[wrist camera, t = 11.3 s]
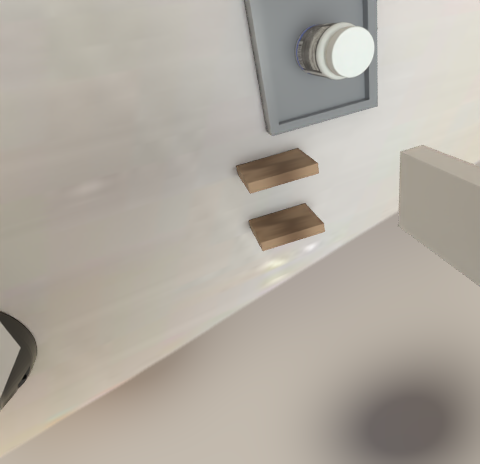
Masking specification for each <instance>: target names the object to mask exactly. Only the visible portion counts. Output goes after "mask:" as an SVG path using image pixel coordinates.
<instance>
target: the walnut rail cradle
mask: <svg viewBox="0 0 480 464" xmlns="http://www.w3.org/2000/svg"><path fill="white" fill-rule="evenodd" d="M236 167H237V172H238V175H239V177H240V178H241V180H242V182H243V183H244V185H245V186H246V188H247V189H248V191H249V193H250V194H251V193H254V192H257V191H261V190H264V189H267V188H271V187H274V186H278V185H281V184H284V183H288V182H291V181H294V180H298V179H301V178H304V177H308V176H311V175H315V174H318V173H319V170H318V163H317V162H316V161H314V160H313V159H312V158H310V157H309V156H308V155H306V154H305V153H304V152H302V151H301V150H300V149H298V148H297V149H294V150H290V151H287V152H283V153H280V154H276V155H273V156H269V157H266V158H262V159H259V160H255V161H252V162H249V163H245V164H242V165H238V166H236ZM249 223H250V228H251V230H252V232H253V234H254V235H255V237H256V239H257V241H258V243H259V245H260V247H261V249H262V251H265V250H268V249H271V248H274V247H277V246H281V245H284V244H287V243H290V242H294V241H297V240H300V239H303V238H306V237H310V236H313V235H316V234H319V233H322V232H325V229H324V223H323V222H322V221H321V220H320V219H319V218H318V217H317V216H316V214H315V213H314V212H313V211H312V210H311V209H310V208H309V207H308V206H307V205H306V204H305V203H304V204H301V205H298V206H295V207H291V208H288V209H285V210H281V211H278V212H275V213H271V214H268V215H265V216H262V217H258V218H255V219H252V220H249Z"/></svg>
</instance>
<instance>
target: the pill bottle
mask: <svg viewBox="0 0 480 464" xmlns="http://www.w3.org/2000/svg"><path fill="white" fill-rule="evenodd" d="M373 55H374V41H373V38H372V36H371V34H370V33H369V32H368V31H367V30H366V29H365V28H363V27H359V26H355V25H353V24H351V23H346V22H339V23H329V24H317V25H313V26H310V27H308V28H307V29H306V30H304V31H303V33H302V34H301V35H300V37H299V39H298V41H297V43H296V48H295V56H296V61H297V63H298V65H299V66H300V68H301V69H302V70H303V71H305V72H306V73H309V74H312V75H316V76H321V77H325V78H329V79H334V80H339V79H344V78H352V77H356V76H358V75H360V74H361V73H363V72H364V71H365V70H366V69H367V67H368V66H369V65H370V63H371V61H372V58H373Z"/></svg>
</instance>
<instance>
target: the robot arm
mask: <svg viewBox="0 0 480 464" xmlns="http://www.w3.org/2000/svg"><path fill="white" fill-rule="evenodd" d="M398 226H399V227H400V228H401V229H403V230H404V231H406V232H407V233H408V234H409V235H411V236H412V237H413V238H415V239H416V240H417V241H419V242H420V243H422V244H423V245H424V246H426V247H427V248H429V249H430V250H431V251H432V252H434V253H435V254H437V255H438V256H439V257H441V258H442V259H443V260H444V261H446V262H447V263H449V264H450V265H451V266H453V267H454V268H455V269H457V270H458V271H459V272H461V273H462V274H463V275H465V276H466V277H467V278H469V279H470V280H471V281H473V282H474V283H476V284H477V285H478V286H480V167H479V166H476V165H474V164H471V163H469V162H466V161H463V160H461V159H458V158H455V157H453V156H450V155H448V154H445V153H442V152H440V151H437V150H435V149H432V148H429V147H427V146H424V145H421V146H418V147H414V148H411V149H408V150H404V151H401V152H400V183H399V216H398ZM36 355H37V347H36V343H35V340H34V338H33V336H32V335H31V333H30V332H29V331H28V330H27V329H26V328H25V327H24V326H23V325H22V324H21V323H20V322H18V321H17V320H15V319H13V318H12V317H10V316H8V315H6V314H3V313H1V312H0V411H1V409H2V408H3V407H4V406H5V405H6V403H7V402H8V401H9V400H10V399H11V398H12V396H13V395H14V394H15V393H16V391H17V390H18V388H19V387H21V385H22V384H23V383H24V382H25V381H26V379H27V378H28V376H29V375H30V373H31V370H32V368H33V365H34V362H35V359H36Z"/></svg>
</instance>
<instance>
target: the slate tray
mask: <svg viewBox="0 0 480 464" xmlns="http://www.w3.org/2000/svg"><path fill="white" fill-rule="evenodd" d="M244 1H245V7H246V13H247V19H248V24H249V30H250V36H251V42H252V48H253V53H254V59H255V65H256V71H257V76H258V82H259V88H260V94H261V100H262V105H263V111H264V117H265V123H266V129H267V132H268V133H269V134H270V135H271V136H274V135H278V134H281V133H285V132H288V131H292V130H295V129H299V128H303V127H306V126H310V125H313V124H317V123H320V122H324V121H327V120H331V119H334V118H338V117H341V116H345V115H348V114H352V113H355V112H359V111H362V110H366V109H369V108H373V107H377V106H378V95H377V0H244ZM339 22H346V23H351V24H353V25H355V26H359V27H363V28H365V29H366V30H367V31H368V32H369V33H370V34H371V36H372V38H373V41H374V55H373V58H372V61H371V63H370V65H369V66H368V67H367V69H366V70H365V71H364V72H363V73H361V74H360V75H358V76H356V77H352V78H344V79H339V80H334V79H329V78H325V77H321V76H316V75H312V74H309V73H306V72H305V71H303V70H302V69H301V68H300V66H299V65H298V63H297V61H296V56H295V48H296V43H297V41H298V39H299V37H300V35H301V34H302V33H303V31H304V30H306V29H307V28H308V27H310V26H313V25H317V24H329V23H339Z"/></svg>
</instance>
